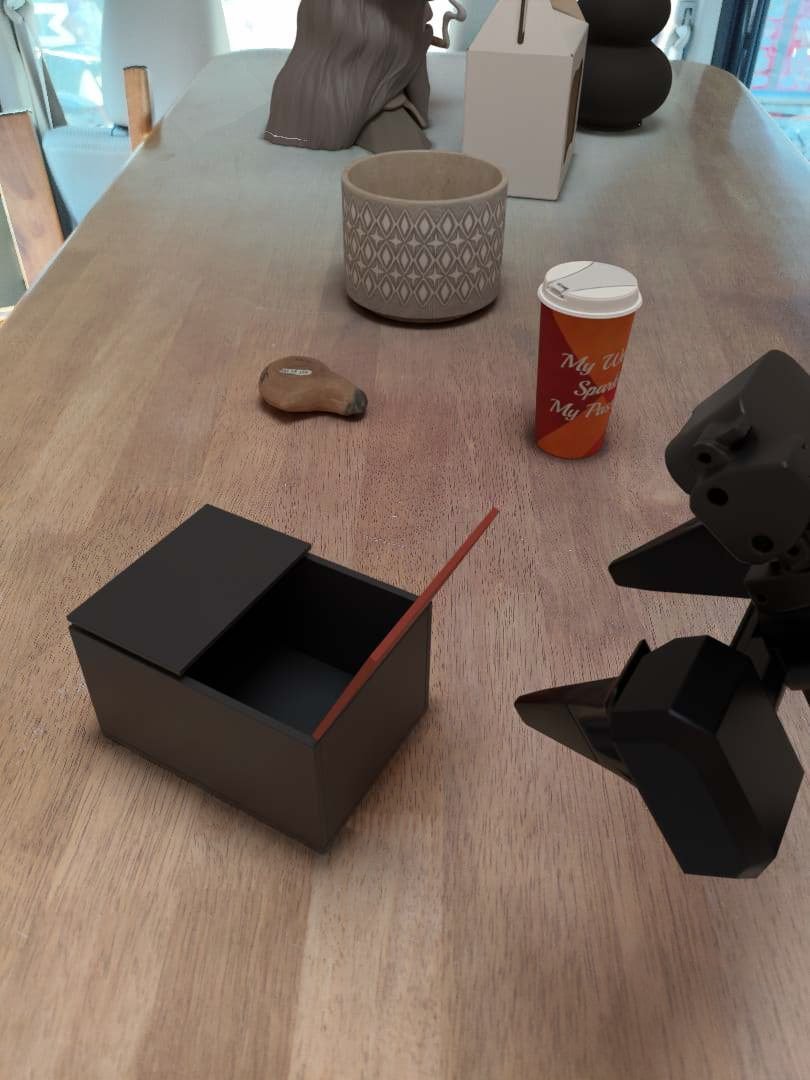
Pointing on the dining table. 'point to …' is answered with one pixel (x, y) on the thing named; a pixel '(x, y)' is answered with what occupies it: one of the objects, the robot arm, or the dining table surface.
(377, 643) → the black flip box
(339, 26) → the bust
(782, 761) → the robot arm
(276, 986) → the dining table surface
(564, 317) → the paper cup
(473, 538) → the lid
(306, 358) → the oil lamp
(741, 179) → the dining table surface
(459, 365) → the dining table surface
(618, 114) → the vase
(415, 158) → the planter
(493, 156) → the cake box
